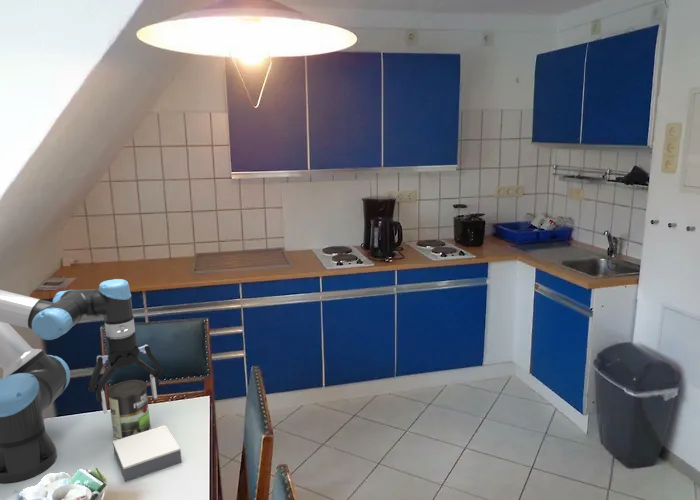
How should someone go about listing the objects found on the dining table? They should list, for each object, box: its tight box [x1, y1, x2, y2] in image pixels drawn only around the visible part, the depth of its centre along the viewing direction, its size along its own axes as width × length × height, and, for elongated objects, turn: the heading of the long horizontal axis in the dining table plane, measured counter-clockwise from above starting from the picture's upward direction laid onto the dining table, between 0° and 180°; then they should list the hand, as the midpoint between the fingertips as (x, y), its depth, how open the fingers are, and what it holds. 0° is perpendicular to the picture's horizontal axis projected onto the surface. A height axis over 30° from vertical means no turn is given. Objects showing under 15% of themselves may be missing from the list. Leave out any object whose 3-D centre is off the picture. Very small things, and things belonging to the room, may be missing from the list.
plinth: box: [112, 424, 182, 482], centre depth 140 cm, size 14×14×4 cm
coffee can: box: [107, 379, 152, 440], centre depth 151 cm, size 10×10×14 cm
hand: (130, 403), depth 151 cm, fingers open, 13 cm apart
